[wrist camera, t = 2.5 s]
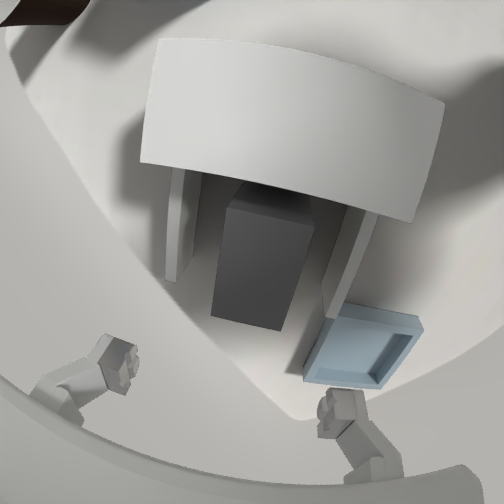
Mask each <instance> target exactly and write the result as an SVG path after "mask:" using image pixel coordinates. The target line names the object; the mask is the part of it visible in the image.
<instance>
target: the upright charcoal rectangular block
mask: <svg viewBox="0 0 504 504" xmlns="http://www.w3.org/2000/svg"><path fill="white" fill-rule="evenodd" d="M314 229H315V225H314V221H313V216H312V212H311V207H310V203H309V199H308V195H307V194H305V193H301V192H296V191H292V190H288V189H284V188H279V187H275V186H271V185H266V184H262V183H257V182H252V181H247V180H245V181H244V183H243V184H242V186H241V187H240V189H239V190H238V191H237V193H236V194H235V196H234V197H233V199H232V200H231V202H230V203H229V205H228V206H227V210H226V216H225V222H224V228H223V235H222V241H221V248H220V254H219V261H218V268H217V275H216V282H215V289H214V296H213V303H212V311H211V316H214V317H219V318H223V319H227V320H231V321H235V322H240V323H244V324H248V325H253V326H257V327H262V328H267V329H272V330H276V331H281V329H282V326H283V324H284V321H285V318H286V315H287V312H288V309H289V306H290V303H291V301H292V298H293V295H294V292H295V289H296V286H297V283H298V280H299V277H300V273H301V270H302V267H303V264H304V261H305V258H306V255H307V252H308V248H309V245H310V242H311V239H312V235H313V232H314Z"/></svg>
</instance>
